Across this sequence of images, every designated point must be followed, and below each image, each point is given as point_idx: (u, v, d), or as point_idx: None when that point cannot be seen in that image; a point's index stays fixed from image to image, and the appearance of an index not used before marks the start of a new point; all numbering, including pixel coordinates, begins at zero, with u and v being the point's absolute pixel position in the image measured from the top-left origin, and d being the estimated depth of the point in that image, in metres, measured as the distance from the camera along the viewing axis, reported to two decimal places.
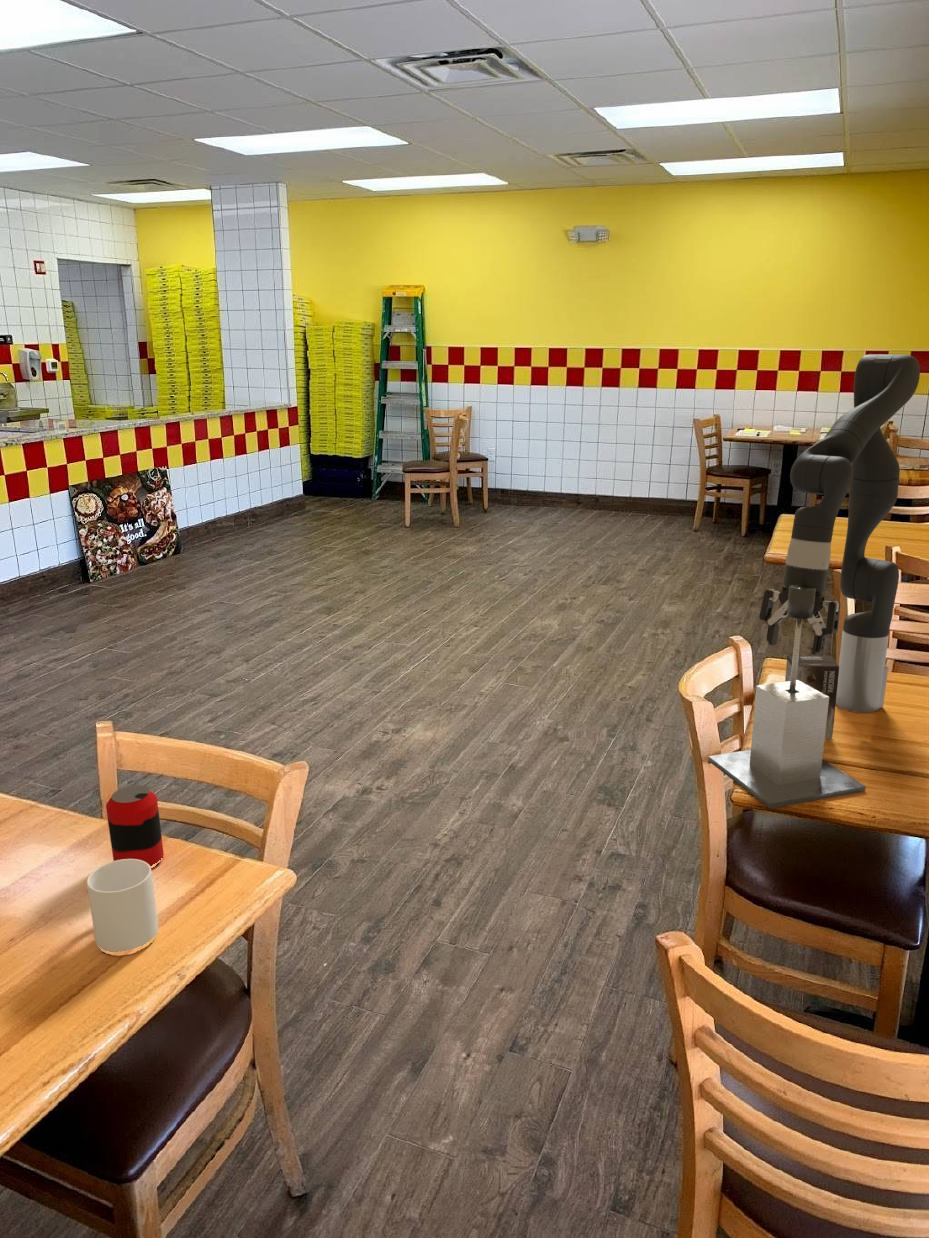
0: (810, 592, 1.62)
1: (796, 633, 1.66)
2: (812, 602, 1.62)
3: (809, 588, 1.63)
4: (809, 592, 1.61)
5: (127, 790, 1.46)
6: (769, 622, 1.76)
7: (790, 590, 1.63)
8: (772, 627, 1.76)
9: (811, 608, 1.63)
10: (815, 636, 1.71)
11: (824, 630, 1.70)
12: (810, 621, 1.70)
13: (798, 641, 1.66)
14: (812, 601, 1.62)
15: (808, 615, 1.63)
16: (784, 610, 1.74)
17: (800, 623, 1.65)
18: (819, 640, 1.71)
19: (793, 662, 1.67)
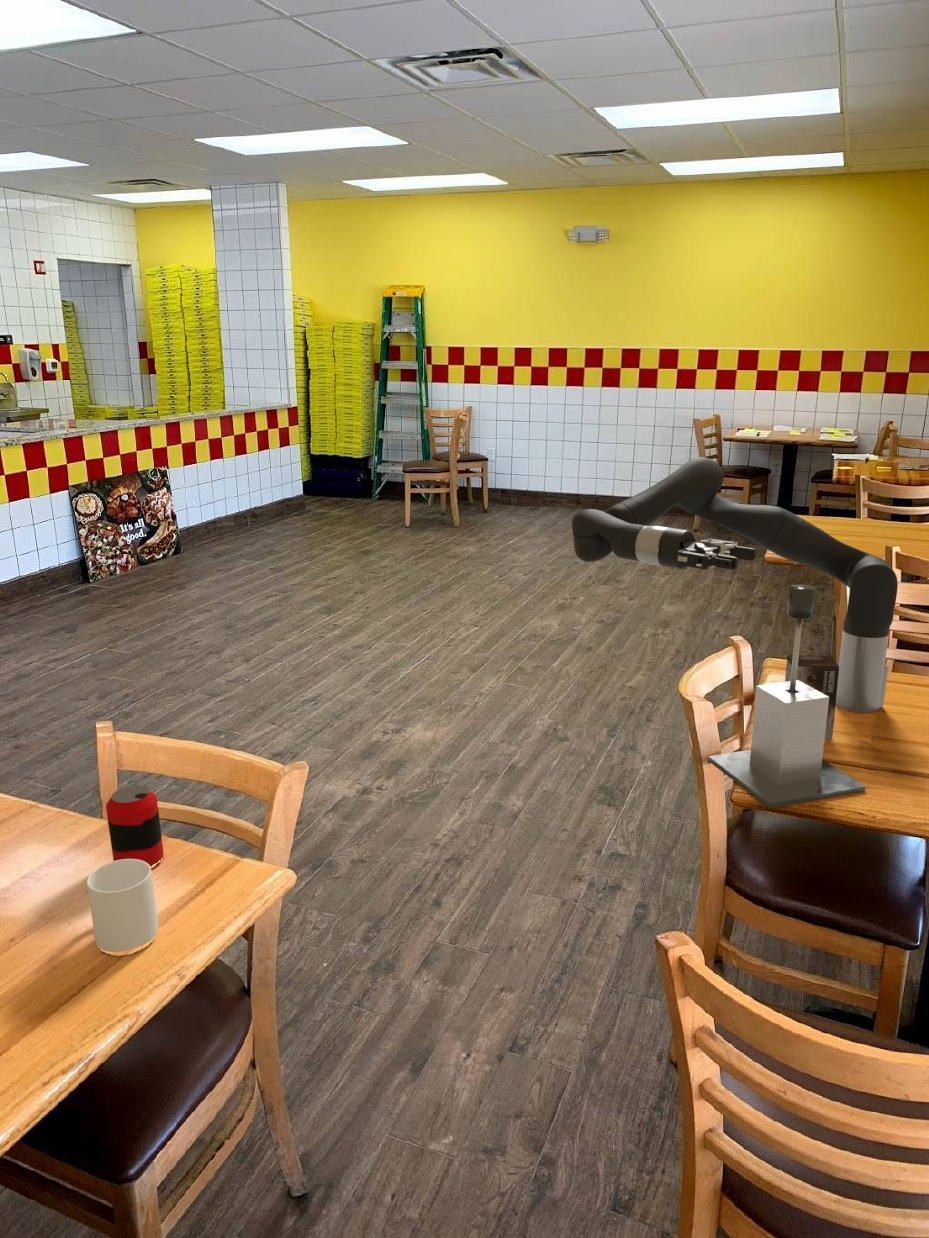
0: (810, 592, 1.62)
1: (796, 633, 1.66)
2: (812, 602, 1.62)
3: (809, 588, 1.63)
4: (809, 592, 1.61)
5: (127, 790, 1.46)
6: (713, 554, 1.67)
7: (790, 590, 1.63)
8: (719, 555, 1.67)
9: (811, 608, 1.63)
10: (737, 546, 1.73)
11: None
12: (721, 542, 1.74)
13: (798, 641, 1.66)
14: (812, 601, 1.62)
15: (808, 615, 1.63)
16: (704, 546, 1.71)
17: (800, 623, 1.65)
18: None
19: (793, 662, 1.67)
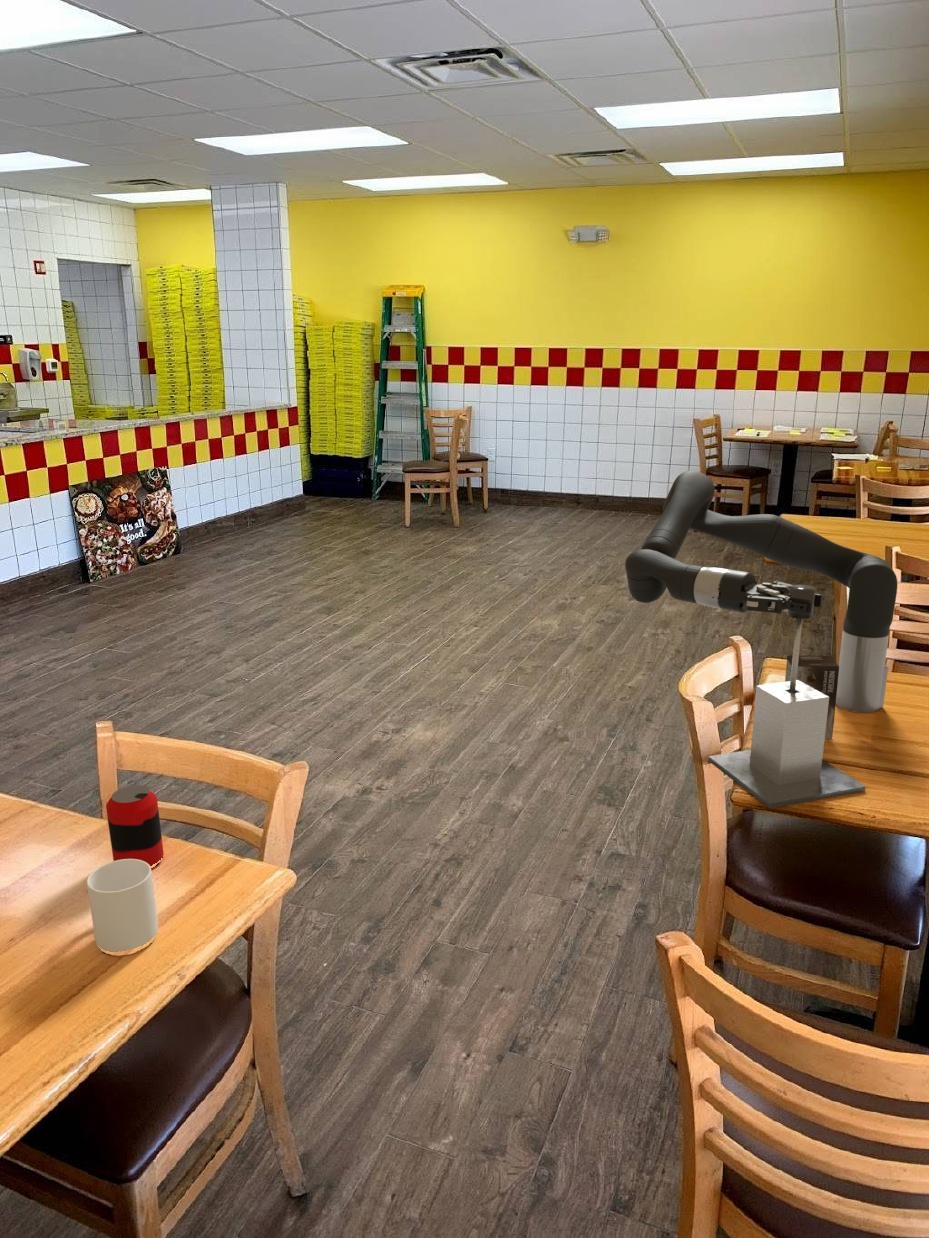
0: (810, 592, 1.62)
1: (796, 633, 1.66)
2: None
3: (809, 588, 1.63)
4: (809, 592, 1.61)
5: (127, 790, 1.46)
6: (786, 597, 1.62)
7: (790, 590, 1.63)
8: (792, 598, 1.62)
9: None
10: None
11: None
12: (784, 586, 1.67)
13: (798, 641, 1.66)
14: (812, 601, 1.62)
15: (808, 616, 1.63)
16: (770, 589, 1.66)
17: (800, 624, 1.65)
18: None
19: (793, 662, 1.67)
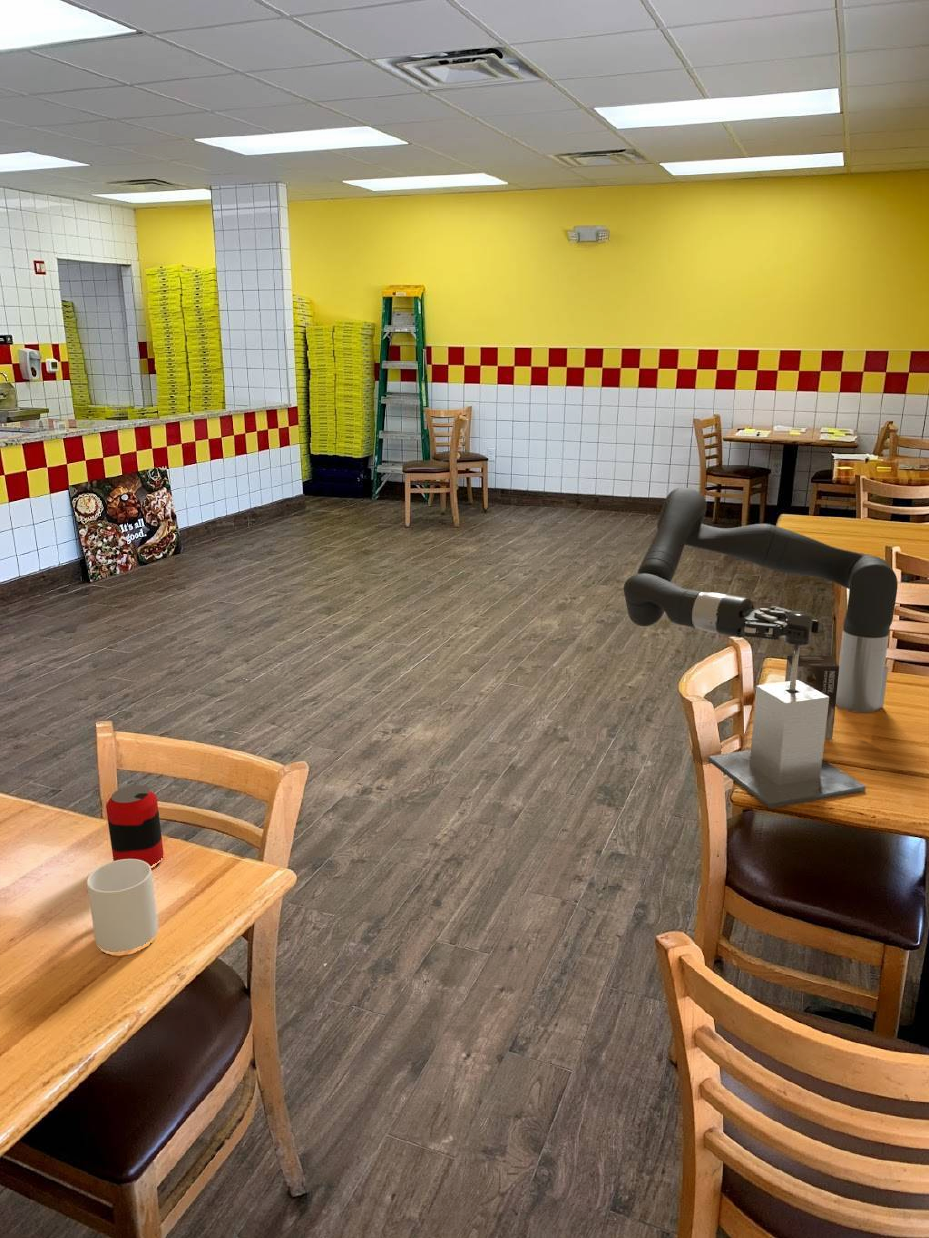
0: (807, 619, 1.63)
1: (793, 659, 1.67)
2: None
3: (807, 614, 1.64)
4: (806, 619, 1.63)
5: (127, 790, 1.46)
6: (784, 623, 1.64)
7: (787, 616, 1.65)
8: (790, 624, 1.64)
9: None
10: None
11: None
12: (782, 612, 1.69)
13: (795, 667, 1.67)
14: (809, 627, 1.64)
15: (805, 642, 1.64)
16: (768, 615, 1.67)
17: (798, 649, 1.66)
18: None
19: (791, 687, 1.69)
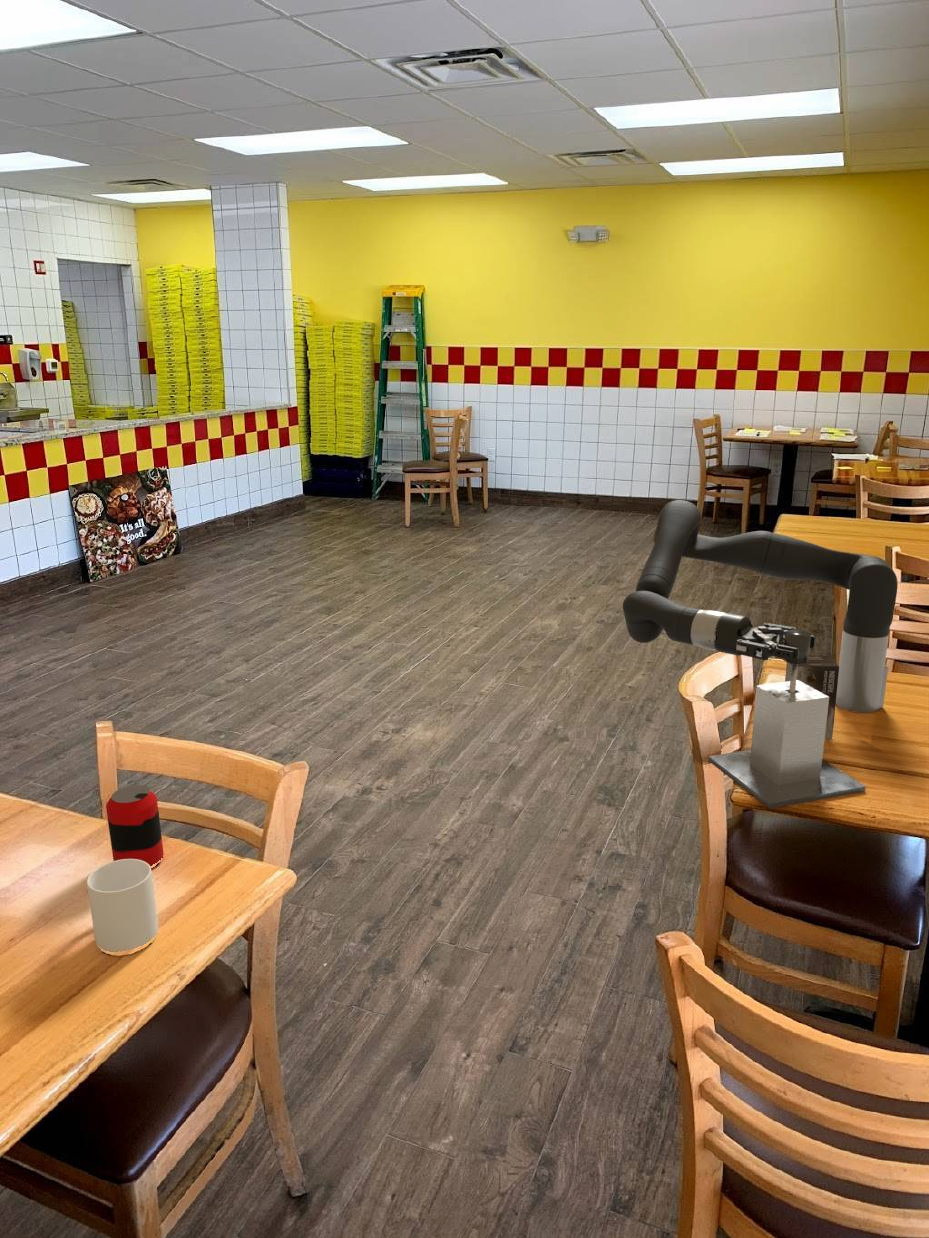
0: (805, 638, 1.64)
1: (792, 677, 1.68)
2: (807, 648, 1.65)
3: (805, 634, 1.65)
4: (804, 638, 1.64)
5: (127, 790, 1.46)
6: (773, 644, 1.64)
7: (786, 636, 1.66)
8: (779, 645, 1.64)
9: (807, 653, 1.65)
10: None
11: None
12: (780, 629, 1.71)
13: (794, 685, 1.68)
14: (807, 647, 1.65)
15: (803, 661, 1.65)
16: (763, 635, 1.68)
17: (796, 668, 1.67)
18: None
19: None
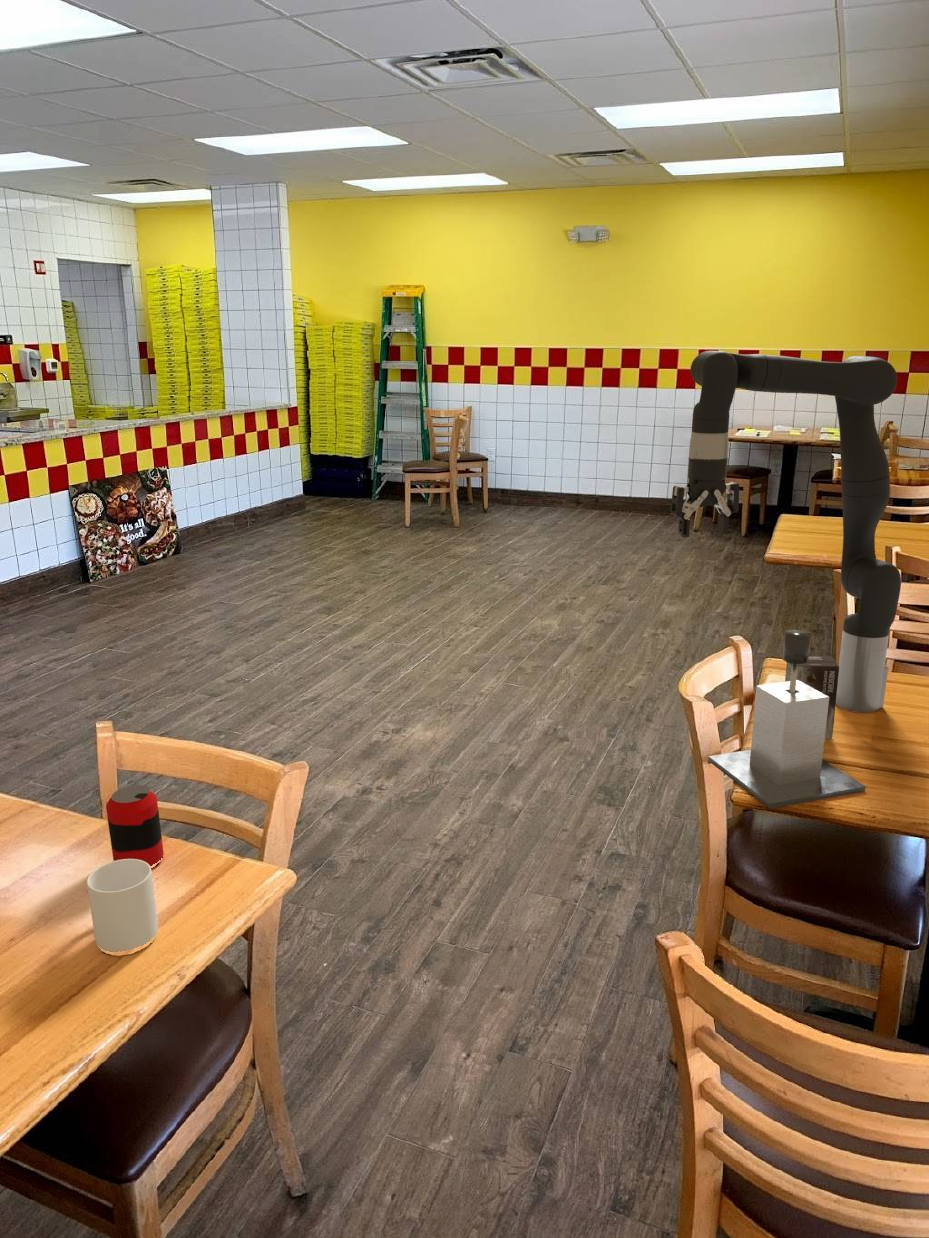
0: (805, 638, 1.64)
1: (792, 677, 1.68)
2: (807, 648, 1.65)
3: (805, 634, 1.65)
4: (804, 638, 1.64)
5: (127, 790, 1.46)
6: (686, 517, 1.85)
7: (786, 636, 1.66)
8: (688, 521, 1.86)
9: (807, 653, 1.65)
10: (725, 517, 1.88)
11: (730, 510, 1.89)
12: (722, 505, 1.87)
13: (794, 685, 1.68)
14: (807, 647, 1.65)
15: (803, 661, 1.65)
16: (700, 502, 1.85)
17: (796, 668, 1.67)
18: (726, 520, 1.89)
19: None
